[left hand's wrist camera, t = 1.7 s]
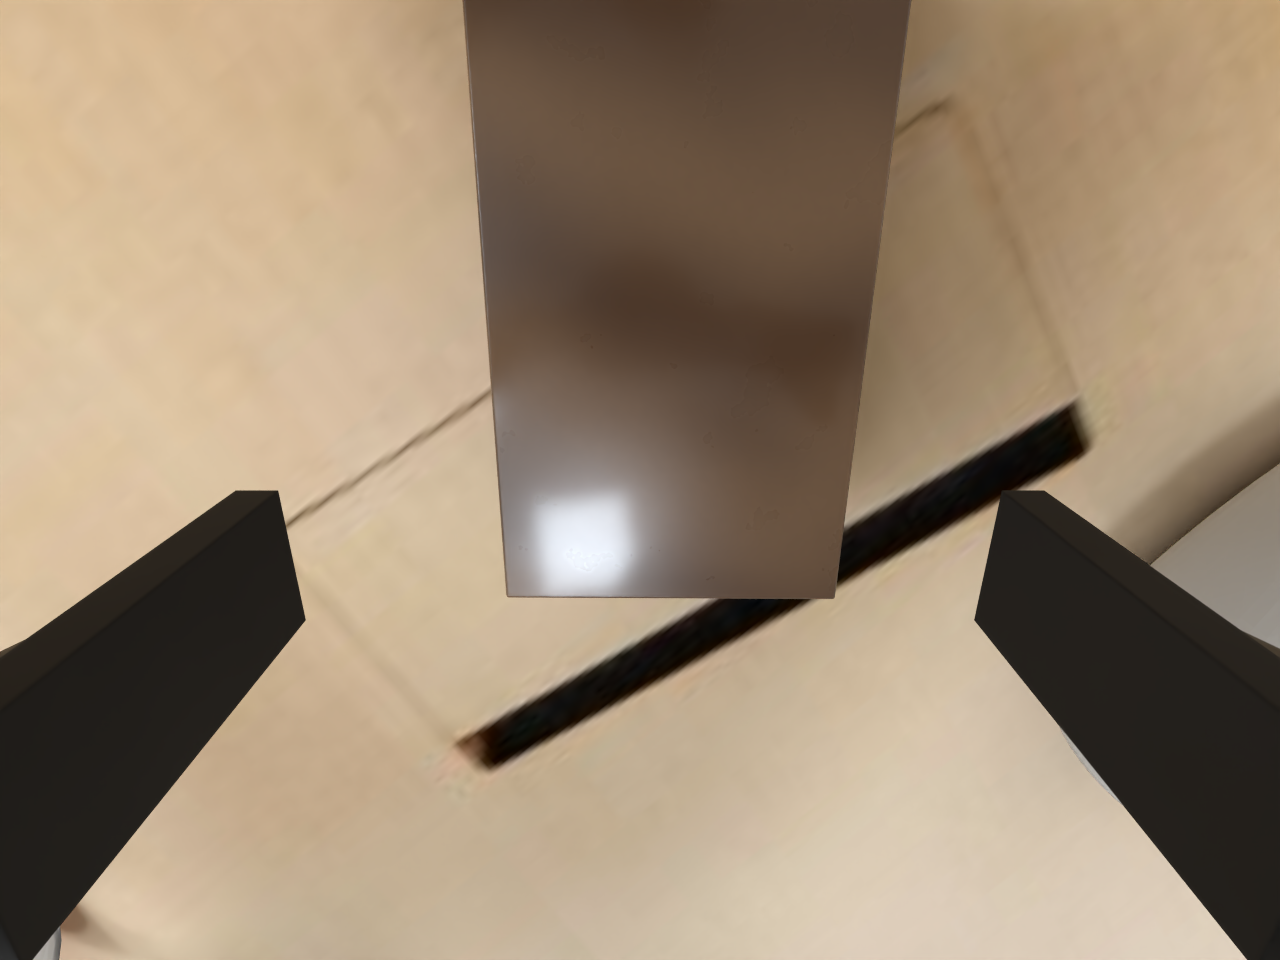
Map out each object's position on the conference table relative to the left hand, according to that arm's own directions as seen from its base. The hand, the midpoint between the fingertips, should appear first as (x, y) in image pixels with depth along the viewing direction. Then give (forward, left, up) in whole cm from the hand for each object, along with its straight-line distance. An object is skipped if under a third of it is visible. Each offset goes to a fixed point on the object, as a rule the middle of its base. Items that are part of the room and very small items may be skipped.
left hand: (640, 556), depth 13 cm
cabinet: (+4, -1, -16) cm, 16 cm away
